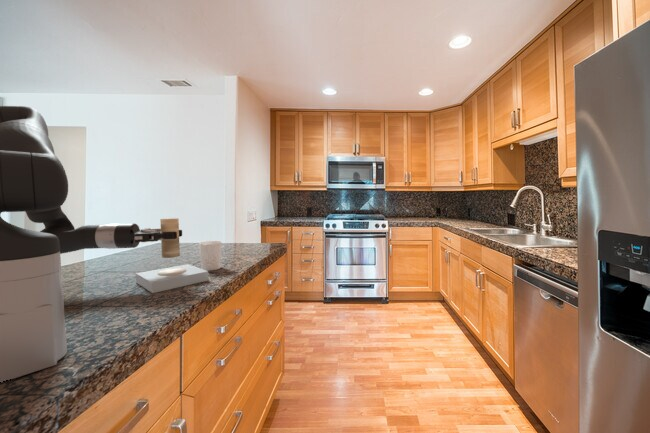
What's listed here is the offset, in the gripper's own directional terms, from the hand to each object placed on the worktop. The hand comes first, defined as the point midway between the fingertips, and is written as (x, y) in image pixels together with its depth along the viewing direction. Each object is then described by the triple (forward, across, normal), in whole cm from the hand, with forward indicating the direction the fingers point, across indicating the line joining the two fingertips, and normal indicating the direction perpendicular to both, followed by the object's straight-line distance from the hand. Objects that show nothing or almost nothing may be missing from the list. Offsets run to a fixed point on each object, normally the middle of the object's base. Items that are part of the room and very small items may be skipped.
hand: (179, 234), depth 88 cm
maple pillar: (-3, 0, +7) cm, 7 cm away
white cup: (+7, +15, +15) cm, 22 cm away
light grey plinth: (-2, 0, +15) cm, 15 cm away
